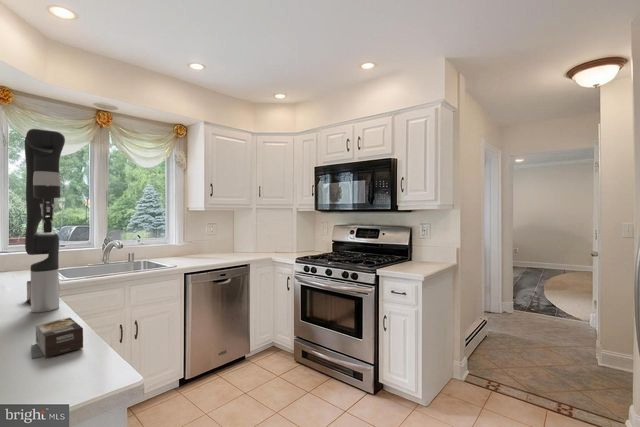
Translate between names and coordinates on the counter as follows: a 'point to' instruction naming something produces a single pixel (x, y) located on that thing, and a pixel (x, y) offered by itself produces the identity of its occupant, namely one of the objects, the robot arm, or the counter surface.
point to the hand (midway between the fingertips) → (47, 232)
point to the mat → (36, 351)
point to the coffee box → (59, 336)
